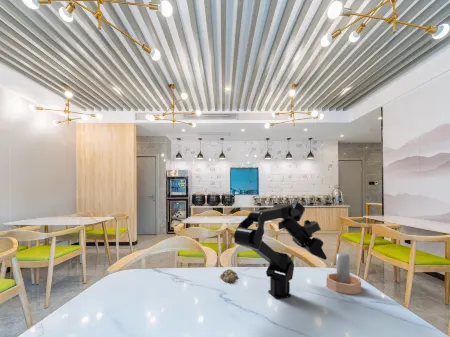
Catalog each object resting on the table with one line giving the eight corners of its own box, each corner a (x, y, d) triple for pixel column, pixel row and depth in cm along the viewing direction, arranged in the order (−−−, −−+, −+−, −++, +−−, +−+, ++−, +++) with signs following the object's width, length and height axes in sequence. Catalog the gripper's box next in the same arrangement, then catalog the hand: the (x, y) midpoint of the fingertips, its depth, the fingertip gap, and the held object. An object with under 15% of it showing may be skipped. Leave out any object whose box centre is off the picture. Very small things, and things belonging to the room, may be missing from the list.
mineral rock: (218, 269, 116) (235, 264, 117) (221, 278, 116) (237, 274, 116) (218, 279, 106) (237, 274, 106) (221, 289, 105) (239, 284, 106)
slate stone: (347, 288, 99) (346, 257, 100) (334, 285, 103) (334, 254, 104) (352, 285, 103) (351, 254, 104) (339, 281, 106) (338, 252, 107)
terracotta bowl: (343, 295, 95) (343, 286, 95) (320, 283, 107) (320, 274, 107) (368, 291, 99) (368, 282, 99) (343, 279, 111) (343, 271, 111)
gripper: (318, 218, 94) (346, 247, 95) (298, 212, 113) (322, 236, 113) (298, 239, 93) (326, 268, 94) (282, 229, 112) (306, 254, 112)
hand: (320, 255), depth 103 cm, fingers open, 9 cm apart
